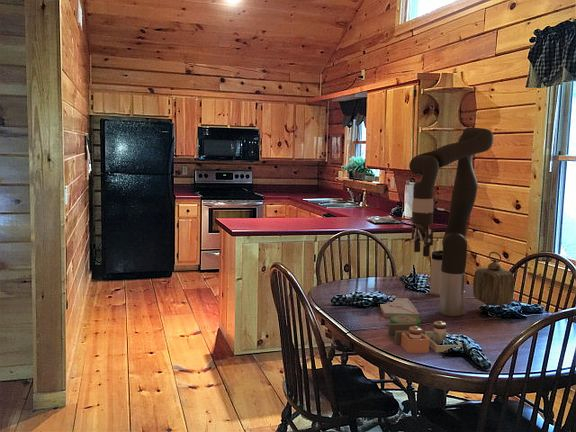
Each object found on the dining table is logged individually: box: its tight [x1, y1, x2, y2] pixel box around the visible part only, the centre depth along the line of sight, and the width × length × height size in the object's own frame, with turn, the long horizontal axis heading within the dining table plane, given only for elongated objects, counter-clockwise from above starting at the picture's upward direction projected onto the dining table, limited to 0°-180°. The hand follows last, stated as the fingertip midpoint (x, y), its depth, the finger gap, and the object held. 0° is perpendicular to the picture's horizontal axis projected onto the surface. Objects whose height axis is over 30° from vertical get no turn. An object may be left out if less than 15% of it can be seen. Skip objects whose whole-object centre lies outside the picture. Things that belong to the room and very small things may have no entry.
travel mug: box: [429, 249, 443, 297], centre depth 247 cm, size 6×7×20 cm
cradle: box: [387, 323, 426, 346], centre depth 188 cm, size 10×11×5 cm
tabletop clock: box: [472, 251, 515, 310], centre depth 222 cm, size 14×9×25 cm, turn 20°
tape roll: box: [389, 315, 421, 328], centre depth 204 cm, size 11×11×3 cm
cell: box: [432, 320, 447, 345], centre depth 184 cm, size 4×4×8 cm
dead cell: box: [409, 326, 423, 339], centre depth 178 cm, size 4×4×8 cm
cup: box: [400, 332, 430, 354], centre depth 178 cm, size 7×7×5 cm
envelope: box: [379, 297, 420, 319], centre depth 225 cm, size 24×2×14 cm
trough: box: [425, 330, 463, 353], centre depth 183 cm, size 9×14×3 cm, turn 8°
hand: (421, 254), depth 199 cm, fingers open, 8 cm apart
